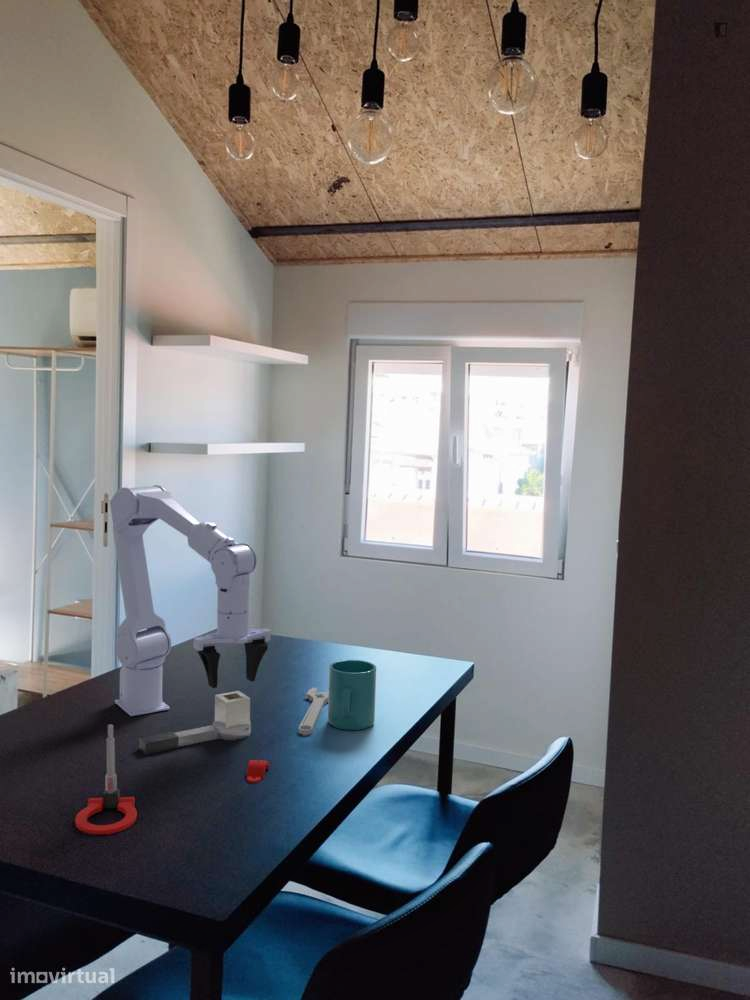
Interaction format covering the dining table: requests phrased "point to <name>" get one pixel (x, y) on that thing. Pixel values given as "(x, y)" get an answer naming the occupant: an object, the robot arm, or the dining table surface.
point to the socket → (232, 709)
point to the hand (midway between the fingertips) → (231, 683)
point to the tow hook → (108, 799)
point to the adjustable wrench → (313, 710)
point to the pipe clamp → (256, 770)
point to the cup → (351, 694)
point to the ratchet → (191, 737)
